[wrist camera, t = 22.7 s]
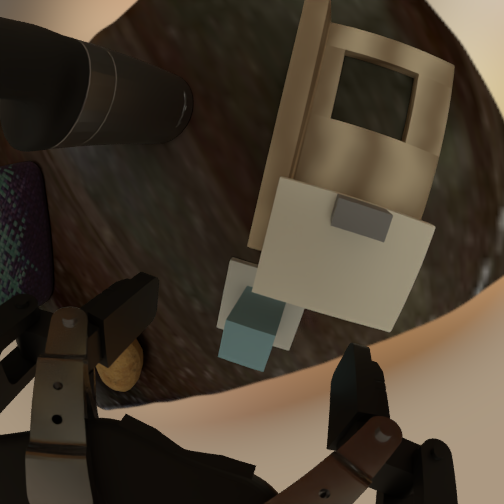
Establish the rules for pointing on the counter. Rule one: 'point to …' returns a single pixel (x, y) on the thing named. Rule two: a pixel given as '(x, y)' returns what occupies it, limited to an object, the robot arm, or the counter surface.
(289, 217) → the cover
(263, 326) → the block
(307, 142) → the puzzle board
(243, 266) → the mat
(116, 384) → the potato
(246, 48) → the counter surface
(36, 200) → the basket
